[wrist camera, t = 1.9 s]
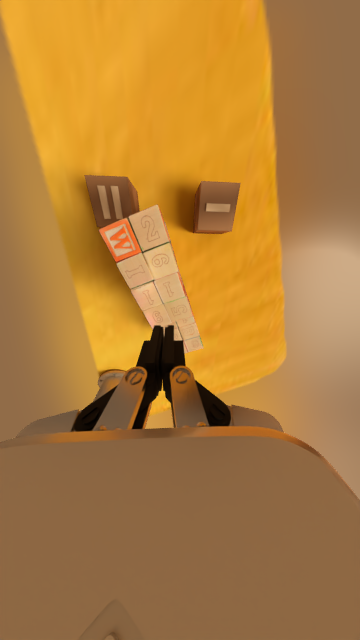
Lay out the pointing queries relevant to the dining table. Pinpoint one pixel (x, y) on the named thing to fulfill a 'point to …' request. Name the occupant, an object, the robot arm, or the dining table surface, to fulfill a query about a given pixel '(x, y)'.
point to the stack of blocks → (153, 272)
